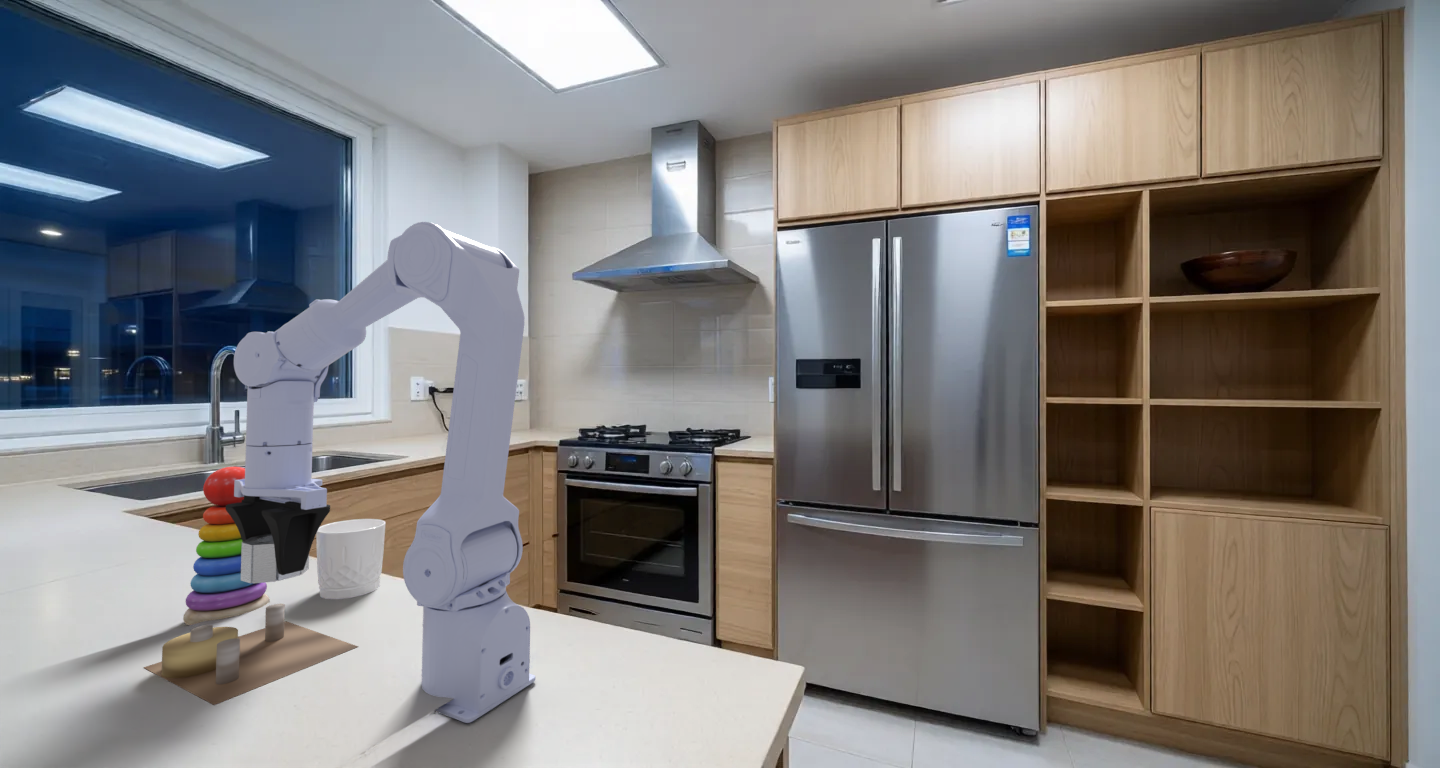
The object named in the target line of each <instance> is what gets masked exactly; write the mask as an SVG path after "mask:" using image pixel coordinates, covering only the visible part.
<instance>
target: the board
mask: <svg viewBox="0 0 1440 768" xmlns="http://www.w3.org/2000/svg"><path fill="white" fill-rule="evenodd" d="M285 606H286V604H285V603H274V604H271V605H268V606H266V607H265V621H264V622H265V627H264V628H261V629H257V630H253V631H251V632H248V633H245V634H243V635H239V629H238V628H236V627H235V626H233V627H232V626H216V627H214V626H213V624H203V625H199V626H197V627H194V628H192V629H190V632H188V633H184V634H181V635H179V636H177V637H173V638H171V639H170V640H168V641H166V642H164V644H163V645H162V646H161V647H162V649H161V661H158V662H156V663H153V664H149V665H146V666H144V667H143V669H145V670H147V671H149V672H151V673H153V674H155V675H156V676H157V677H160V678H162V679H164V680H166V681H167V682H170V683H171V684H172V685H175V686H177V687H179V688H181V689H182V690H185V691H187V693H191V694H192V695H194V696H196V697H197V698H199V699H201V700H204V702H207V703H209V704H211V705H213V706H216V705H218V704H221V703H224V702H226V701H228V700H230V699H234V698H236V697H238V696H241V695H243V694H245V693H248V692H251V691H253V690H256V689H258V688H261V687H263V686H265V685H268V684H270V683H273V682H275V681H278V680H280V679H283V678H285V677H288V676H290V675H293V674H295V673H298V672H301V671H303V670H305V669H308V668H309V667H313V666H315V665H318V664H320V663H323V662H325V661H327V660H330V659H333V658H334V657H337V656H339V655H343V654H344V653H347V652H350V651H352V650H355V649H356V648H359V645H356V644H352V643H349V642H347V641H344V640H341V639H338V638H335V637H333V636H329V635H327V634H324V633H321V632H318V631H315V630H312V629H310V628H308V627H307V628H306V627H304V626H301V625H298V624H295V623H293V622H290V621H285V615H286V614H285V611H286V609H285V608H286V607H285Z"/></svg>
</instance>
